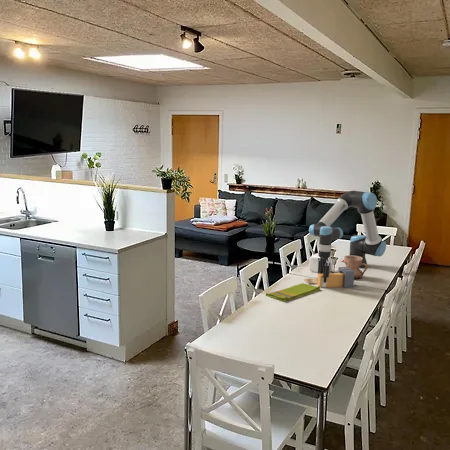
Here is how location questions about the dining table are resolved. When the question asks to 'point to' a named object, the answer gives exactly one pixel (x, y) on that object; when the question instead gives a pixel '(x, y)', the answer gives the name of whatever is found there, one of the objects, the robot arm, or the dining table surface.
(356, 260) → the ceramic jug
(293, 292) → the dish towel
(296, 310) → the dining table surface
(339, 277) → the plug
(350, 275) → the block
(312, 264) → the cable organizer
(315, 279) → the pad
